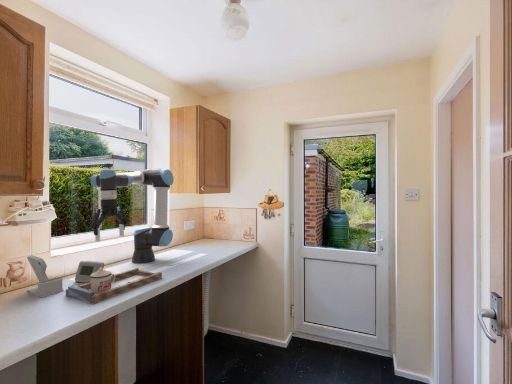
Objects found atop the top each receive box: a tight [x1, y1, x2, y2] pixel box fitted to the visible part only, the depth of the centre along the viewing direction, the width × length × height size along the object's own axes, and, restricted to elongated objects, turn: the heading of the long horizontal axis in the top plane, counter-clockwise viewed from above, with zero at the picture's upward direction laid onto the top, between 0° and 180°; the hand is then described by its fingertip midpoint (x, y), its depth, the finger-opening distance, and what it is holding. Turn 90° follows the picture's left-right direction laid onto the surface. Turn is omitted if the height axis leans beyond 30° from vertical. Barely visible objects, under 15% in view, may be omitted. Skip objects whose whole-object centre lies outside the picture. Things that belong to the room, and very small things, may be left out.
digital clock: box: [74, 260, 105, 284], centre depth 148 cm, size 16×9×11 cm, turn 64°
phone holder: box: [26, 254, 64, 298], centre depth 134 cm, size 17×10×18 cm, turn 57°
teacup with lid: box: [90, 268, 115, 295], centre depth 133 cm, size 12×9×12 cm
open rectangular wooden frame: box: [65, 267, 163, 305], centre depth 140 cm, size 39×21×4 cm, turn 152°
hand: (110, 238), depth 143 cm, fingers open, 13 cm apart
